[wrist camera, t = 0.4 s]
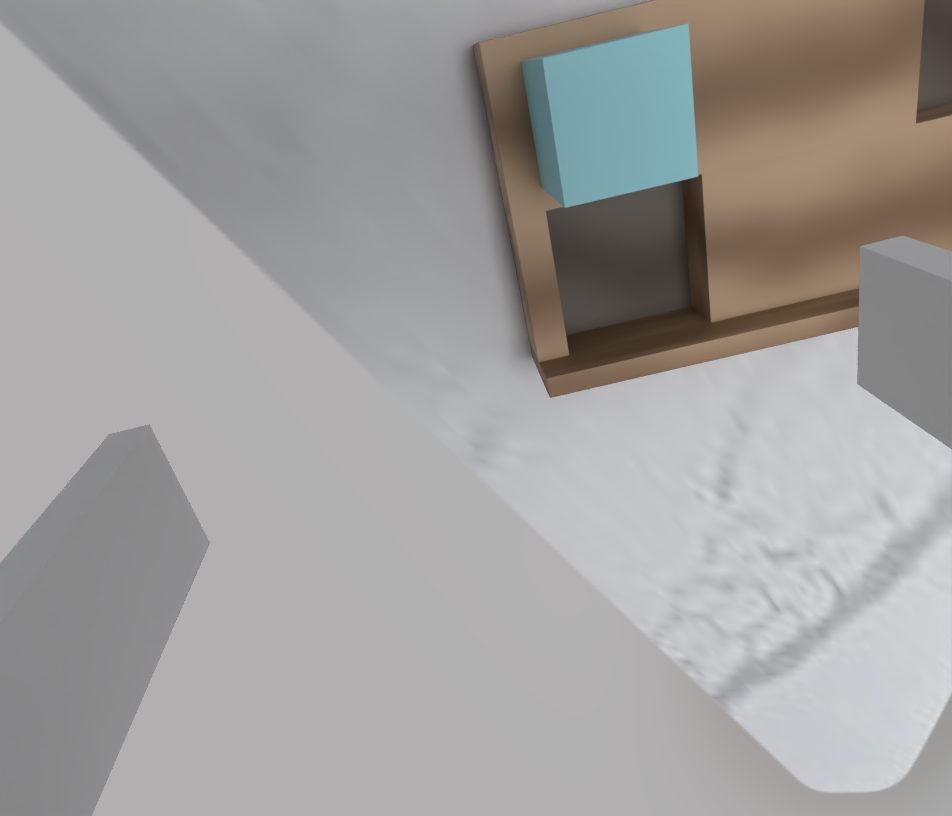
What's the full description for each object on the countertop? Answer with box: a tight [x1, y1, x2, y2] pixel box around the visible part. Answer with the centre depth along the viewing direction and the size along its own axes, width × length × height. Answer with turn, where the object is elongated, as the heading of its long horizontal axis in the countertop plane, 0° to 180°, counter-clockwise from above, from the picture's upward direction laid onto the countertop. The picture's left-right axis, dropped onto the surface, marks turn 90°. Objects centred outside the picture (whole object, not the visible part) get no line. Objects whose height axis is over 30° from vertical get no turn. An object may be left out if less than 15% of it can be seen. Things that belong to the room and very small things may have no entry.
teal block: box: [521, 24, 698, 208], centre depth 26 cm, size 5×5×5 cm
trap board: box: [473, 0, 952, 398], centre depth 31 cm, size 15×33×5 cm, turn 102°
